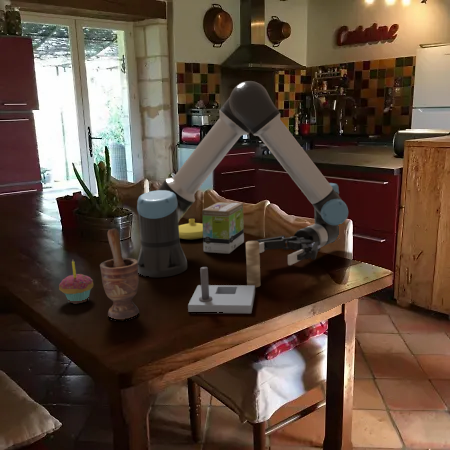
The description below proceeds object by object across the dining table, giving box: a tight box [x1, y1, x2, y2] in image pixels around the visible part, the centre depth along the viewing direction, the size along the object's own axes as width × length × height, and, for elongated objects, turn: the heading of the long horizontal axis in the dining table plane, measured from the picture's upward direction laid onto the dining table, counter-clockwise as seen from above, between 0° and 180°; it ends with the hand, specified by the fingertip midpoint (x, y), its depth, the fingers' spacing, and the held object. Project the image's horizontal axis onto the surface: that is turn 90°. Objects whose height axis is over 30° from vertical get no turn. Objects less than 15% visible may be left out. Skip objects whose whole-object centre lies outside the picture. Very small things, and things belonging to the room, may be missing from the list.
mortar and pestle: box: [99, 228, 140, 319], centre depth 114 cm, size 12×9×20 cm
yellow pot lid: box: [179, 218, 203, 240], centre depth 182 cm, size 16×16×7 cm
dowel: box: [245, 240, 261, 288], centre depth 129 cm, size 4×4×12 cm
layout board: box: [187, 266, 256, 314], centre depth 119 cm, size 15×13×10 cm
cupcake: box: [58, 259, 94, 301], centre depth 124 cm, size 9×8×12 cm
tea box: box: [201, 201, 245, 255], centre depth 166 cm, size 15×10×15 cm
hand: (268, 256), depth 133 cm, fingers open, 13 cm apart
